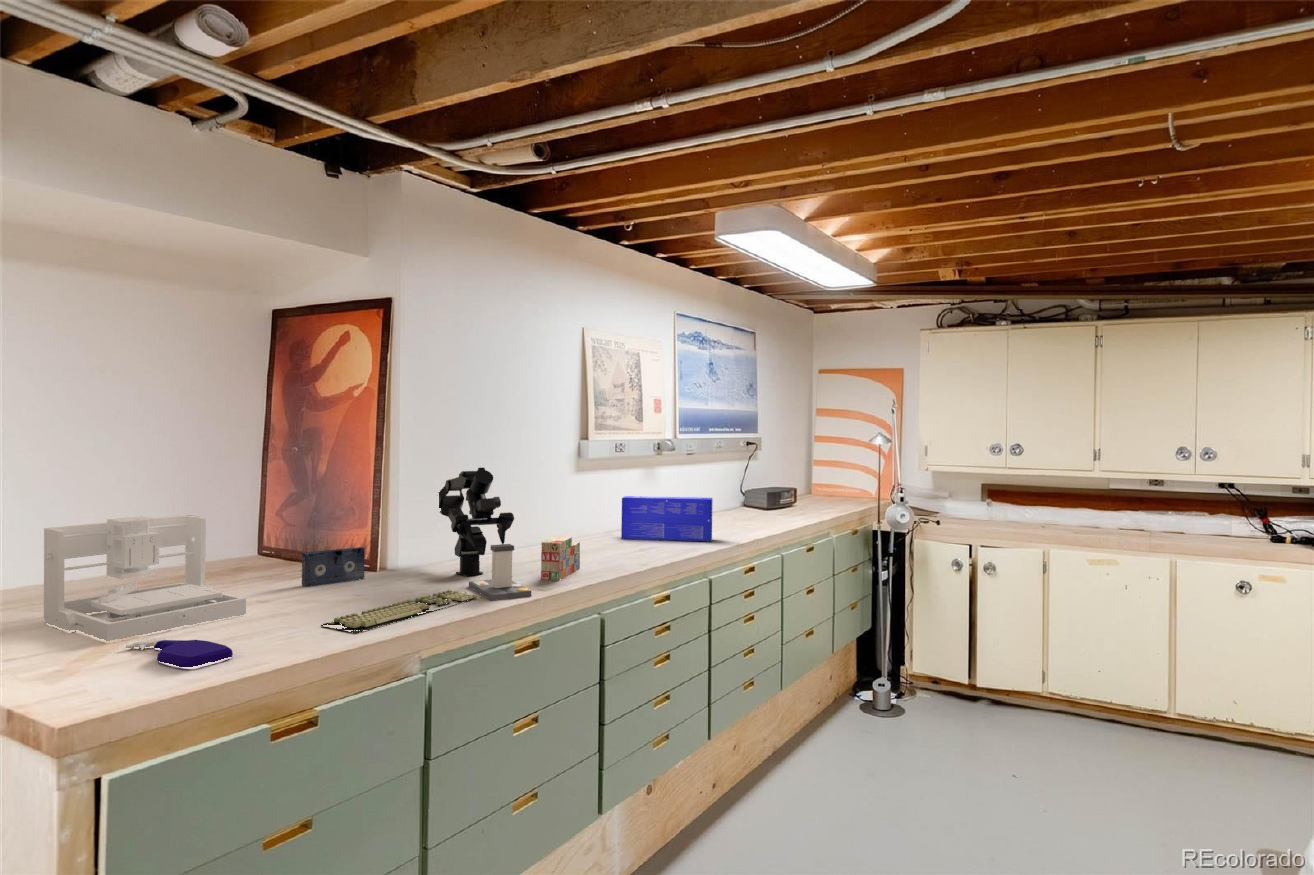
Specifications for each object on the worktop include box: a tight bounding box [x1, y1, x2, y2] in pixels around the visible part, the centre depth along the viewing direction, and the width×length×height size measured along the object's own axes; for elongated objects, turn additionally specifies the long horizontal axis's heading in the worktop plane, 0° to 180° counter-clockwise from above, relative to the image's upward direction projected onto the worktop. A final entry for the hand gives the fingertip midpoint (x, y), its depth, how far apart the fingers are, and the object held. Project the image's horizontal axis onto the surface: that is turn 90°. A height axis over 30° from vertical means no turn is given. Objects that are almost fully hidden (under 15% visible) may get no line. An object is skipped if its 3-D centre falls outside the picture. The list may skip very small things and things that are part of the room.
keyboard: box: [320, 589, 483, 634], centre depth 204 cm, size 45×15×2 cm, turn 152°
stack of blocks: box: [540, 536, 581, 581], centre depth 255 cm, size 21×6×12 cm, turn 168°
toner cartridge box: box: [620, 495, 714, 542], centre depth 334 cm, size 39×8×18 cm, turn 84°
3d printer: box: [43, 514, 247, 641], centre depth 190 cm, size 35×32×25 cm
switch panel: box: [468, 578, 532, 601], centre depth 228 cm, size 20×12×2 cm, turn 31°
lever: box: [490, 543, 515, 588], centre depth 226 cm, size 4×6×12 cm, turn 121°
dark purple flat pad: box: [125, 636, 234, 667], centre depth 163 cm, size 3×11×24 cm
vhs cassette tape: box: [301, 546, 366, 588], centre depth 236 cm, size 18×3×10 cm, turn 134°
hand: (489, 544), depth 237 cm, fingers open, 9 cm apart
